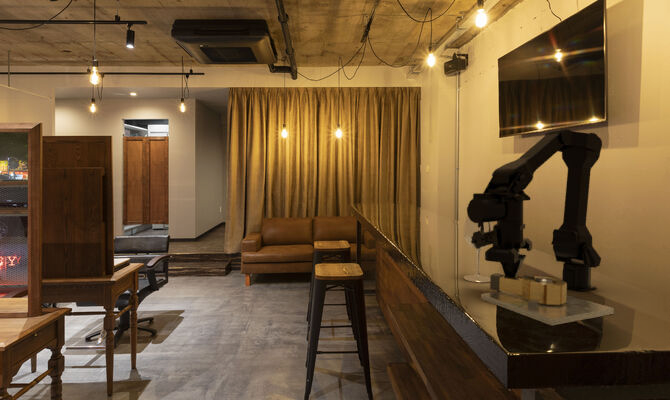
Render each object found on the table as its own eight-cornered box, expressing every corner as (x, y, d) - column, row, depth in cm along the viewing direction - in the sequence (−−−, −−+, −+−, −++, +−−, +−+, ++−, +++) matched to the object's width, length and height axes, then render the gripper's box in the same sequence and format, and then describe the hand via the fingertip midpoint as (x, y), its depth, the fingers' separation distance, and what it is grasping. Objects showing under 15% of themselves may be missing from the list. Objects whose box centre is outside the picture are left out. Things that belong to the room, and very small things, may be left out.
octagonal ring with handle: (500, 285, 94) (500, 267, 94) (570, 299, 82) (570, 278, 82) (485, 291, 88) (485, 271, 88) (557, 307, 77) (558, 284, 77)
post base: (537, 291, 95) (537, 267, 94) (613, 313, 78) (614, 285, 78) (481, 299, 88) (481, 273, 87) (551, 325, 71) (552, 293, 71)
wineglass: (491, 277, 109) (493, 208, 108) (493, 284, 102) (495, 209, 101) (463, 275, 111) (464, 207, 111) (462, 281, 104) (464, 208, 103)
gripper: (487, 214, 102) (487, 271, 103) (462, 222, 88) (462, 289, 89) (532, 216, 95) (532, 277, 96) (513, 225, 81) (513, 297, 82)
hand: (509, 284), depth 91 cm, fingers closed
